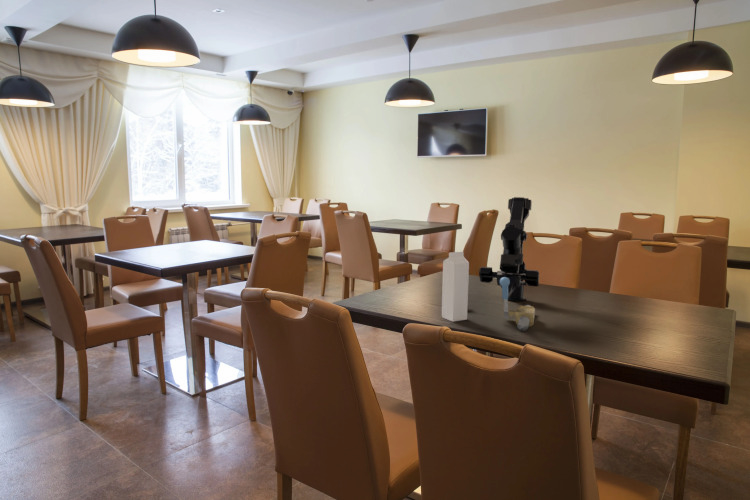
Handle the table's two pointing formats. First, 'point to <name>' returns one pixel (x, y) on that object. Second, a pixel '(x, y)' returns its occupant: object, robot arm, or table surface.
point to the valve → (524, 316)
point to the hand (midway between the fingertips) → (506, 298)
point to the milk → (455, 287)
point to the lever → (505, 294)
